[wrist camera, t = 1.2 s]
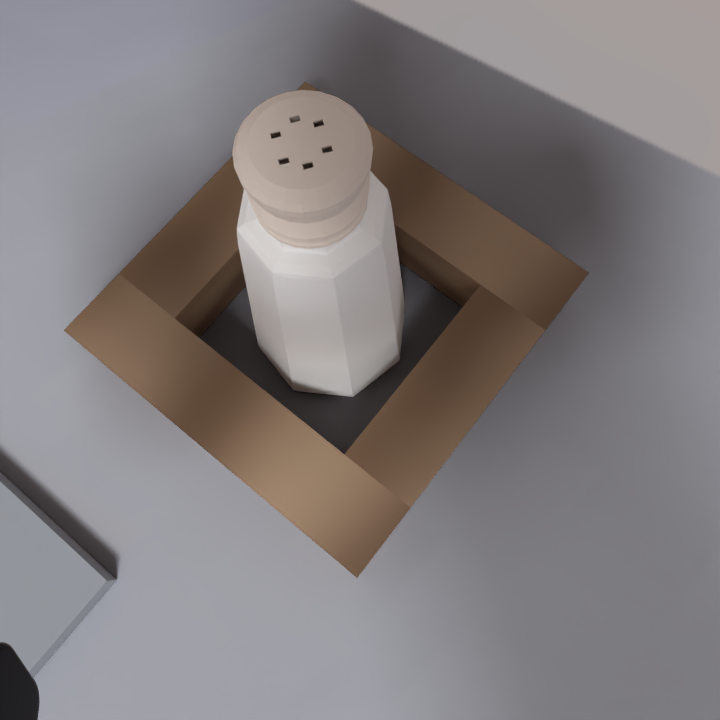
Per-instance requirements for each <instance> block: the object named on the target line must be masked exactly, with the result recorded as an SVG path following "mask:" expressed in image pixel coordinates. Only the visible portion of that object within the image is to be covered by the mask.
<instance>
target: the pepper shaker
mask: <svg viewBox="0 0 720 720" xmlns="http://www.w3.org/2000/svg"><path fill="white" fill-rule="evenodd" d="M232 153H233V162H234V168H235V171H236V173H237V175H238V178H239V180H240V182H241V184H242V186H243V188H244V191H243V197H242V202H241V207H240V213H239V218H238V224H237V239H238V247H239V252H240V257H241V262H242V267H243V272H244V277H245V282H246V287H247V292H248V297H249V302H250V307H251V312H252V317H253V322H254V327H255V332H256V337H257V342H258V346H259V348H260V349H261V350H262V351H263V353H264V354H265V355H266V356H267V358H268V359H269V360H270V361H271V363H272V364H273V365H274V366H275V368H276V369H277V370H278V372H279V373H280V374H281V375H282V377H283V378H284V379H285V380H286V382H287V383H288V384H289V385H290V387H291V388H292V389H293V390H294V391H302V392H311V393H320V394H330V395H339V396H349V397H354V396H355V395H356V394H358V393H359V392H360V391H361V390H363V389H364V388H365V387H367V386H368V385H369V384H370V383H372V382H373V381H374V380H376V379H377V378H378V377H379V376H381V375H382V374H383V373H385V372H386V371H387V370H388V369H390V368H391V367H392V366H394V365H395V364H396V363H397V362H399V361H400V352H401V342H402V332H403V322H404V312H405V301H404V294H403V286H402V279H401V272H400V264H399V257H398V250H397V243H396V235H395V228H394V221H393V213H392V206H391V201H390V197H389V193H388V189H387V188H386V187H385V186H384V185H383V184H382V183H381V182H380V181H379V180H378V179H377V177H376V176H375V175H374V174H373V173H372V172H371V171H370V170H371V162H372V154H373V145H372V139H371V133H370V131H369V129H368V127H367V125H366V123H365V121H364V119H363V118H362V116H361V115H360V114H359V113H358V112H357V111H356V110H355V109H354V108H353V107H352V106H351V105H349V104H348V103H346V102H344V101H343V100H341V99H339V98H338V97H335V96H332V95H329V94H326V93H323V92H320V91H310V90H298V91H291V92H285V93H282V94H279V95H277V96H274V97H271V98H269V99H268V100H266V101H265V102H263V103H262V104H260V105H259V106H257V107H256V108H254V109H253V110H252V112H251V113H250V114H249V115H248V116H247V117H246V118H245V119H244V120H243V122H242V124H241V126H240V128H239V130H238V131H237V133H236V135H235V140H234V145H233V150H232Z"/></svg>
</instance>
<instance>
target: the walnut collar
mask: <svg viewBox="0 0 720 720" xmlns="http://www.w3.org/2000/svg"><path fill="white" fill-rule="evenodd" d="M298 90H310V91H318V90H317V89H315V88H314V87H312V86H311V85H309V84H308V83H306V82H304V83H303V84H302V86H301V87H300V88H299V89H298ZM298 90H297V91H298ZM365 123H366V122H365ZM366 125H367V127H368V129H369V131H370V133H371V139H372V145H373V154H372V162H371V170H370V171H371V172H372V173H373V174H374V175H375V176H376V177H377V179H378V180H379V181H380V182H381V183H382V184H383V185H384V186H385V187H386V188H387V189H388V193H389V197H390V201H391V206H392V213H393V221H394V228H395V235H396V243H397V250H398V257H399V262H400V263H402V264H403V265H404V266H406V267H407V268H409V269H410V270H411V271H413V272H414V273H416V274H417V275H418V276H420V277H421V278H423V279H424V280H425V281H427V282H428V283H430V284H431V285H432V286H434V287H435V288H437V289H438V290H439V291H441V292H442V293H444V294H445V295H446V296H448V297H449V298H451V299H452V300H453V301H455V302H456V303H458V304H459V305H460V306H462V308H461V310H460V311H459V312H458V313H457V315H456V316H455V317H454V318H453V320H452V321H451V322H450V323H449V325H448V326H447V327H446V328H445V330H444V331H443V332H442V333H441V335H440V336H439V337H438V338H437V340H436V341H435V342H434V343H433V345H432V346H431V347H430V348H429V350H428V351H427V352H426V353H425V355H424V356H423V357H422V358H421V359H420V361H419V362H418V363H417V364H416V366H415V367H414V368H413V369H412V371H411V372H410V373H409V374H408V376H407V377H406V378H405V379H404V381H403V382H402V383H401V384H400V386H399V387H398V388H397V389H396V391H395V392H394V393H393V394H392V396H391V397H390V398H389V399H388V401H387V402H386V403H385V404H384V406H383V407H382V408H381V409H380V411H379V412H378V413H377V414H376V415H375V417H374V418H373V419H372V420H371V422H370V423H369V424H368V425H367V427H366V428H365V429H364V430H363V432H362V433H361V434H360V435H359V437H358V438H357V439H356V440H355V442H354V443H353V444H352V445H351V447H350V448H349V449H348V450H347V452H346V453H345V454H343V453H342V452H341V451H339V450H338V449H337V448H336V447H334V446H333V445H332V444H331V443H329V442H328V441H327V440H326V439H324V438H323V437H322V436H321V435H319V434H318V433H317V432H316V431H314V430H313V429H312V428H311V427H309V426H308V425H307V424H306V423H304V422H303V421H302V420H301V419H300V418H298V417H297V416H296V415H295V414H293V413H292V412H291V411H290V410H288V409H287V408H286V407H285V406H283V405H282V404H281V403H280V402H278V401H277V400H276V399H275V398H273V397H272V396H271V395H270V394H268V393H267V392H266V391H265V390H263V389H262V388H261V387H260V386H258V385H257V384H256V383H255V382H253V381H252V380H251V379H250V378H248V377H247V376H246V375H245V374H243V373H242V372H241V371H240V370H238V369H237V368H236V367H235V366H233V365H232V364H231V363H230V362H228V361H227V360H226V359H225V358H223V357H222V356H221V355H220V354H218V353H217V352H216V351H215V350H213V349H212V348H211V347H210V346H209V345H207V344H206V343H205V342H204V341H202V340H201V339H200V338H199V337H200V336H201V335H202V334H203V333H204V331H205V330H206V329H207V328H208V327H209V326H210V325H211V324H212V323H213V322H214V320H215V319H216V318H217V317H218V316H219V315H220V314H221V313H222V312H223V311H224V309H225V308H226V307H227V306H228V305H229V304H230V303H231V302H232V301H233V300H234V298H235V297H236V296H237V295H238V294H239V293H240V292H241V291H242V290H243V289H244V287H245V286H246V282H245V277H244V272H243V267H242V262H241V257H240V252H239V247H238V239H237V224H238V218H239V213H240V207H241V202H242V197H243V191H244V188H243V186H242V184H241V182H240V180H239V178H238V175H237V173H236V171H235V168H234V162H233V157H232V158H231V159H230V160H229V161H228V162H227V163H226V164H225V165H224V166H223V167H222V168H221V169H220V170H219V171H218V172H217V173H216V174H215V175H214V176H213V177H212V178H211V179H210V180H209V181H208V182H207V183H206V184H205V185H204V186H203V188H202V189H201V190H200V191H199V192H198V193H197V194H196V195H195V196H194V197H193V198H192V199H191V200H190V201H189V202H188V203H187V204H186V205H185V206H184V207H183V208H182V209H181V210H180V211H179V212H178V213H177V214H176V215H175V216H174V217H173V218H172V219H171V220H170V222H169V223H168V224H167V225H166V226H165V227H164V228H163V229H162V230H161V231H160V232H159V233H158V234H157V235H156V236H155V237H154V238H153V239H152V240H151V241H150V242H149V243H148V244H147V245H146V246H145V247H144V248H143V249H142V250H141V251H140V252H139V253H138V254H137V256H136V257H135V258H134V259H133V260H132V261H131V262H130V263H129V264H128V265H127V266H126V267H125V268H124V269H123V270H122V271H121V272H120V273H119V274H118V275H117V276H116V277H115V278H114V279H113V280H112V281H111V282H110V283H109V284H108V285H107V286H106V287H105V288H104V290H103V291H102V292H101V293H100V294H99V295H98V296H97V297H96V298H95V299H94V300H93V301H92V302H91V303H90V304H89V305H88V306H87V307H86V308H85V309H84V310H83V311H82V312H81V313H80V314H79V315H78V316H77V317H76V318H75V319H74V320H73V321H72V322H71V324H70V325H69V326H68V327H67V328H66V329H65V330H64V331H65V332H66V333H68V334H69V335H70V336H71V337H72V338H74V339H75V340H76V341H77V342H78V343H79V344H81V345H82V346H83V347H84V348H85V349H87V350H88V351H89V352H90V353H91V354H93V355H94V356H95V357H96V358H97V359H98V360H100V361H101V362H102V363H103V364H104V365H106V366H107V367H108V368H109V369H110V370H111V371H113V372H114V373H115V374H116V375H117V376H119V377H120V378H121V379H122V380H123V381H125V382H126V383H127V384H128V385H129V386H130V387H132V388H133V389H134V390H135V391H136V392H138V393H139V394H140V395H141V396H142V397H143V398H145V399H146V400H147V401H148V402H149V403H151V404H152V405H153V406H154V407H155V408H157V409H158V410H159V411H160V412H161V413H162V414H164V415H165V416H166V417H167V418H168V419H170V420H171V421H172V422H173V423H174V424H175V425H177V426H178V427H179V428H180V429H181V430H183V431H184V432H185V433H186V434H187V435H188V436H190V437H191V438H192V439H193V440H194V441H196V442H197V443H198V444H199V445H200V446H202V447H203V448H204V449H205V450H206V451H207V452H209V453H210V454H211V455H212V456H213V457H215V458H216V459H217V460H218V461H219V462H220V463H222V464H223V465H224V466H225V467H226V468H228V469H229V470H230V471H231V472H232V473H234V474H235V475H236V476H237V477H238V478H239V479H241V480H242V481H243V482H244V483H245V484H247V485H248V486H249V487H250V488H251V489H252V490H254V491H255V492H256V493H257V494H258V495H260V496H261V497H262V498H263V499H264V500H266V501H267V502H268V503H269V504H270V505H271V506H273V507H274V508H275V509H276V510H277V511H279V512H280V513H281V514H282V515H283V516H284V517H286V518H287V519H288V520H289V521H290V522H292V523H293V524H294V525H295V526H296V527H298V528H299V529H300V530H301V531H302V532H303V533H305V534H306V535H307V536H308V537H309V538H311V539H312V540H313V541H314V542H315V543H316V544H318V545H319V546H320V547H321V548H322V549H324V550H325V551H326V552H327V553H328V554H330V555H331V556H332V557H333V558H334V559H335V560H337V561H338V562H339V563H340V564H341V565H343V566H344V567H345V568H346V569H347V570H348V571H350V572H351V573H352V574H353V575H354V576H356V577H358V576H359V575H360V573H361V572H362V571H363V570H364V568H365V567H366V566H367V564H368V563H369V562H370V560H371V559H372V558H373V556H374V555H375V554H376V552H377V551H378V550H379V548H380V547H381V546H382V544H383V543H384V542H385V541H386V539H387V538H388V537H389V535H390V534H391V533H392V531H393V530H394V529H395V527H396V526H397V525H398V523H399V522H400V521H401V519H402V518H403V517H404V516H405V514H406V513H407V512H408V510H409V509H410V508H411V506H412V505H413V504H414V502H415V501H416V500H417V498H418V497H419V496H420V494H421V493H422V492H423V491H424V489H425V488H426V487H427V485H428V484H429V483H430V481H431V480H432V479H433V477H434V476H435V475H436V473H437V472H438V471H439V469H440V468H441V467H442V465H443V464H444V463H445V462H446V460H447V459H448V458H449V456H450V455H451V454H452V452H453V451H454V450H455V448H456V447H457V446H458V444H459V443H460V442H461V440H462V439H463V438H464V437H465V435H466V434H467V433H468V431H469V430H470V429H471V427H472V426H473V425H474V423H475V422H476V421H477V419H478V418H479V417H480V415H481V414H482V413H483V411H484V410H485V409H486V408H487V406H488V405H489V404H490V402H491V401H492V400H493V398H494V397H495V396H496V394H497V393H498V392H499V390H500V389H501V388H502V386H503V385H504V384H505V383H506V381H507V380H508V379H509V377H510V376H511V375H512V373H513V372H514V371H515V369H516V368H517V367H518V365H519V364H520V363H521V361H522V360H523V359H524V358H525V356H526V355H527V354H528V352H529V351H530V350H531V348H532V347H533V346H534V344H535V343H536V342H537V340H538V339H539V338H540V336H541V335H542V334H543V332H544V331H545V330H546V329H547V327H548V326H549V325H550V323H551V322H552V321H553V319H554V318H555V317H556V315H557V314H558V313H559V311H560V310H561V309H562V307H563V306H564V305H565V304H566V302H567V301H568V300H569V298H570V297H571V296H572V294H573V293H574V292H575V290H576V289H577V288H578V286H579V285H580V284H581V282H582V281H583V280H584V279H585V277H586V276H587V275H588V273H589V272H587V271H586V270H584V269H583V268H581V267H580V266H578V265H577V264H575V263H574V262H572V261H571V260H569V259H568V258H566V257H565V256H563V255H562V254H560V253H559V252H557V251H556V250H554V249H553V248H551V247H550V246H548V245H547V244H545V243H544V242H543V241H541V240H540V239H538V238H537V237H535V236H534V235H532V234H531V233H529V232H528V231H526V230H525V229H523V228H522V227H520V226H519V225H517V224H516V223H514V222H513V221H511V220H510V219H508V218H507V217H505V216H504V215H502V214H501V213H499V212H498V211H496V210H495V209H494V208H492V207H491V206H489V205H488V204H486V203H485V202H483V201H482V200H480V199H479V198H477V197H476V196H474V195H473V194H471V193H470V192H468V191H467V190H465V189H464V188H462V187H461V186H459V185H458V184H456V183H455V182H453V181H452V180H450V179H449V178H447V177H446V176H444V175H443V174H442V173H440V172H439V171H437V170H436V169H434V168H433V167H431V166H430V165H428V164H427V163H425V162H424V161H422V160H421V159H419V158H418V157H416V156H415V155H413V154H412V153H410V152H409V151H407V150H406V149H404V148H403V147H401V146H400V145H398V144H397V143H395V142H394V141H393V140H391V139H390V138H388V137H387V136H385V135H384V134H382V133H381V132H379V131H378V130H376V129H375V128H373V127H372V126H370V125H369V124H367V123H366Z"/></svg>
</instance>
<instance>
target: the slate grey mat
mask: <svg viewBox="0 0 720 720" xmlns="http://www.w3.org/2000/svg"><path fill="white" fill-rule="evenodd" d="M115 581H116V579H115V578H114V577H113V576H112V575H111V574H110V573H109V572H108V571H107V570H106V569H104V568H103V567H102V566H101V565H100V564H99V563H98V562H97V561H96V560H95V559H94V558H93V557H92V556H90V555H89V554H88V553H87V552H86V551H85V550H84V549H83V548H82V547H81V546H80V545H79V544H78V543H76V542H75V541H74V540H73V539H72V538H71V537H70V536H69V535H68V534H67V533H66V532H65V531H63V530H62V529H61V528H60V527H59V526H58V525H57V524H56V523H55V522H54V521H53V520H52V519H51V518H49V517H48V516H47V515H46V514H45V513H44V512H43V511H42V510H41V509H40V508H39V507H38V506H37V505H35V504H34V503H33V502H32V501H31V500H30V499H29V498H28V497H27V496H26V495H25V494H24V493H22V492H21V491H20V490H19V489H18V488H17V487H16V486H15V485H14V484H13V483H12V482H11V481H10V480H8V479H7V478H6V477H5V476H4V475H3V474H2V473H1V472H0V642H5V643H7V644H9V645H11V647H12V648H13V649H14V651H15V652H16V654H17V655H18V657H19V658H20V659H21V661H22V662H23V664H24V665H25V667H26V668H27V670H28V671H29V673H30V674H31V676H32V677H34V676H35V675H36V674H37V673H38V671H39V670H40V669H41V668H42V667H43V665H44V664H45V663H46V662H47V661H48V660H49V658H50V657H51V656H52V655H53V654H54V653H55V651H56V650H57V649H58V648H59V647H60V646H61V644H62V643H63V642H64V641H65V640H66V639H67V637H68V636H69V635H70V634H71V633H72V632H73V630H74V629H75V628H76V627H77V626H78V625H79V623H80V622H81V621H82V620H83V619H84V617H85V616H86V615H87V614H88V613H89V612H90V610H91V609H92V608H93V607H94V606H95V605H96V603H97V602H98V601H99V600H100V599H101V598H102V596H103V595H104V594H105V593H106V592H107V591H108V589H109V588H110V587H111V586H112V585H113V584H114V582H115Z"/></svg>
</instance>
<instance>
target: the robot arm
mask: <svg viewBox="0 0 720 720" xmlns="http://www.w3.org/2000/svg"><path fill="white" fill-rule="evenodd" d="M38 711H39V691H38V687H37V684H36V682H35V680H34V679H33V677H32V676H31V674H30V673H29V671H28V670H27V668H26V667H25V665H24V664H23V662H22V661H21V659H20V658H19V657H18V655H17V654H16V652H15V651H14V649H13V648H12V647H11V645H9V644H7V643H5V642H0V720H38Z"/></svg>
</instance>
